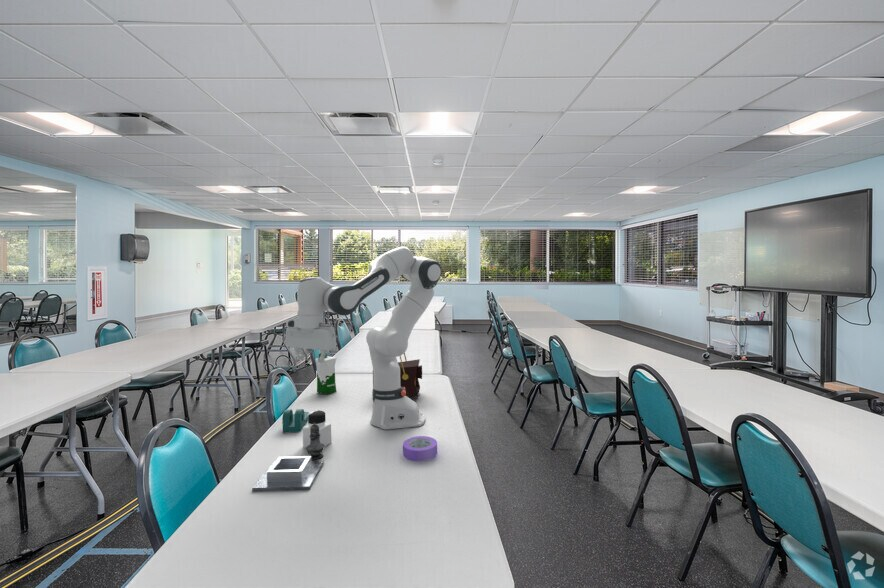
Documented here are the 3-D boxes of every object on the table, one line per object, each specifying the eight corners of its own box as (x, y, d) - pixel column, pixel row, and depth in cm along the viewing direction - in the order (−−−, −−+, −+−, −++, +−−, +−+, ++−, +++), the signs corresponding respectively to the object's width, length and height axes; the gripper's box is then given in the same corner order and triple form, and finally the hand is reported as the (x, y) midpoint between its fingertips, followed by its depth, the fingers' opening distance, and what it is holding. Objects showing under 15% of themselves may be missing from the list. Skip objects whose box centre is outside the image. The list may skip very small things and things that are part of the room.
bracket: (300, 432, 160) (300, 412, 160) (282, 433, 159) (282, 413, 159) (311, 416, 178) (310, 398, 177) (295, 417, 177) (294, 399, 177)
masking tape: (419, 465, 131) (419, 453, 131) (395, 454, 139) (395, 443, 139) (444, 453, 140) (444, 442, 140) (420, 443, 148) (420, 433, 148)
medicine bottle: (331, 442, 149) (331, 410, 148) (318, 450, 142) (317, 416, 142) (316, 439, 152) (315, 407, 151) (302, 447, 145) (301, 413, 145)
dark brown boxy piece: (420, 401, 196) (419, 349, 194) (372, 402, 196) (371, 350, 195) (422, 391, 212) (422, 343, 211) (377, 392, 212) (377, 344, 211)
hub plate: (323, 463, 132) (323, 451, 132) (309, 489, 116) (309, 475, 116) (273, 465, 132) (273, 452, 132) (252, 491, 116) (251, 477, 116)
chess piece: (307, 462, 133) (306, 426, 133) (304, 455, 139) (303, 420, 138) (326, 458, 136) (325, 423, 135) (322, 452, 141) (321, 417, 141)
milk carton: (327, 388, 220) (326, 351, 219) (339, 391, 215) (338, 353, 214) (314, 393, 212) (313, 354, 211) (326, 395, 207) (325, 356, 206)
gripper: (340, 323, 144) (340, 362, 145) (295, 320, 153) (295, 357, 153) (328, 324, 139) (328, 365, 139) (282, 321, 147) (282, 360, 147)
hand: (310, 361), depth 146 cm, fingers open, 8 cm apart
